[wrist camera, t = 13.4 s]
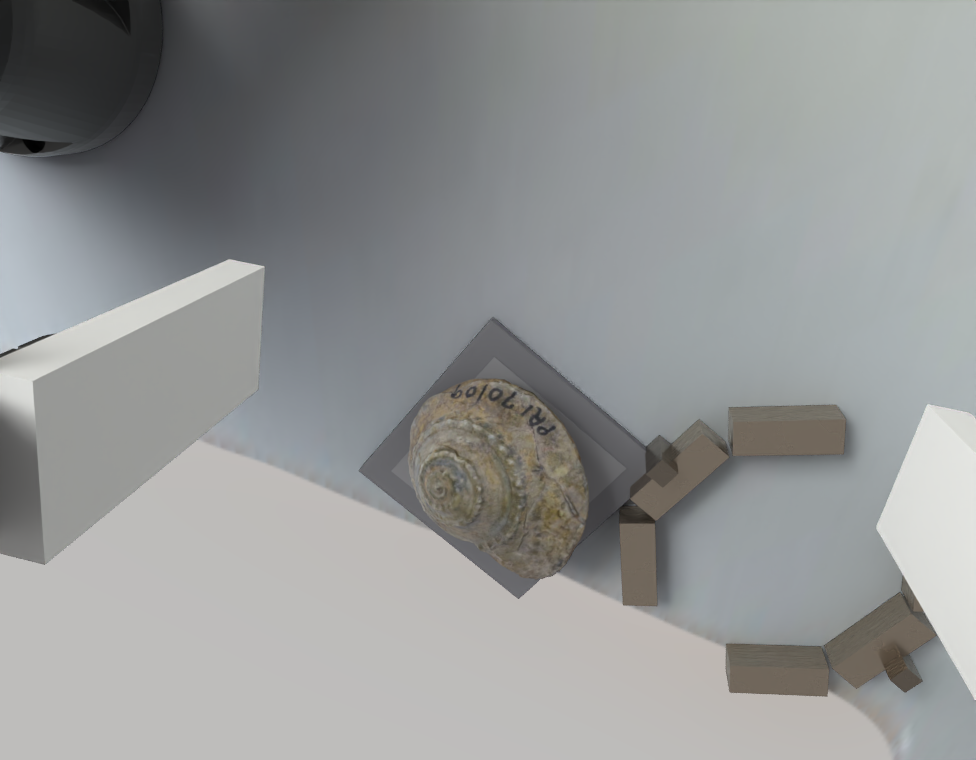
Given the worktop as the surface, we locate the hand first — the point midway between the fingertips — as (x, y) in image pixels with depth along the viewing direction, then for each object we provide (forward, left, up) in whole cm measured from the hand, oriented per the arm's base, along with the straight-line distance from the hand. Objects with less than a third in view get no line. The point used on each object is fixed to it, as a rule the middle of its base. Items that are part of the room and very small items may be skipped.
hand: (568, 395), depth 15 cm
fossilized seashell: (+6, -15, -26) cm, 31 cm away
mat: (+6, -15, -27) cm, 31 cm away
